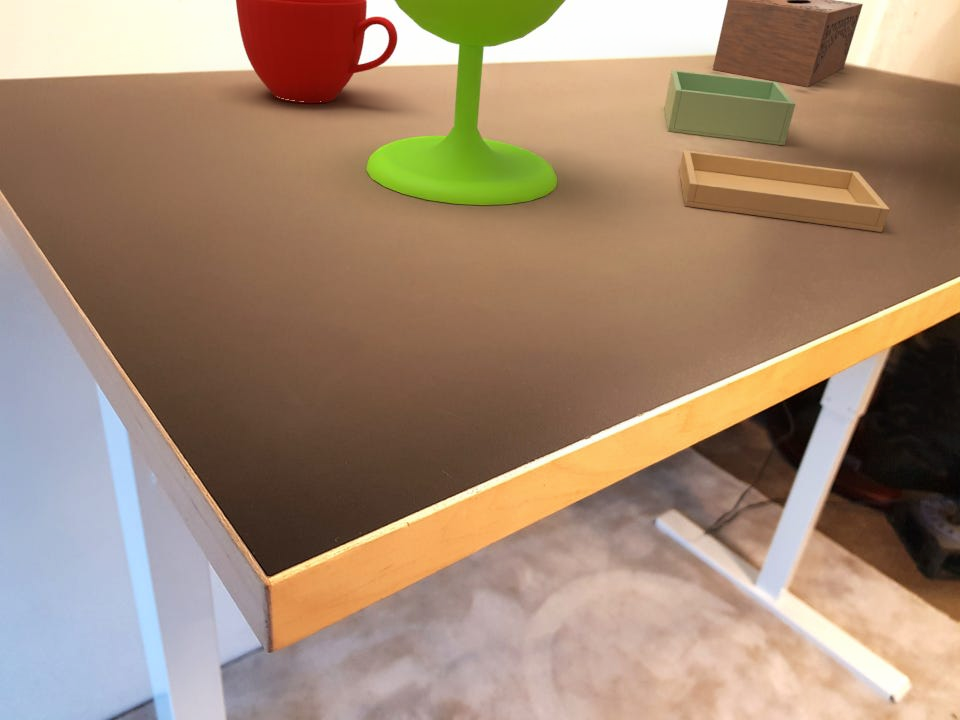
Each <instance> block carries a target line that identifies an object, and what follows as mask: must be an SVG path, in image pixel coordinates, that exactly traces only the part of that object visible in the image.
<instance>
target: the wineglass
mask: <svg viewBox="0 0 960 720" xmlns="http://www.w3.org/2000/svg"><path fill="white" fill-rule="evenodd" d="M566 1H567V0H394V2H395V4H396V6H397V7H398V8H399V9H400V10H401V11H402V12H403V13H404V14H405V15H406V16H408V17H409V19H411V20H412V22H414V23H415V24H416V25H417V26H418V27H420V28H421V29H422V30H424V31H426V32H428V33H430V34H432V35H434V36H436V37H437V38H440V39H441V40H444V41H446V42H447V43H449V44H450V43H451V44H455V45H458V60H457V75H456V89H455V105H454V107H455V108H454V118H453V120H454V121H453V126H452V128H451V130H450V131H449V133H448V134H447V135H425V136H424V135H423V136H421V135H420V136H412V137H407V138H402V139H397V140H394V141H391V142H389V143H386V144H383V145H381V146H379V148H378V149H376V150H375V151H374V152H373V153H371V155H370V156H369V157H368V159H367V163H366V167H365V171H366V173H367V174H368V175H369V177H370V178H371V179H372V180H373V181H375V182H376V183H378V184H380V185H381V186H383V188H386V189H389V190H392V191H394V192H398V193H400V194H402V195H407V196H411V197H414V198H417V199H422V200H426V201H431V202H440V203H446V204H453V205H470V206H471V205H473V206H497V205H499V206H500V205H511V204H519V203H524V202H530V201H533V200H537V199H540V198H543V197H546V196H548V195H549V194H550V193H552V192H553V191H554V190H555V189H556V187H557V185H558V177H557V174H556V173H555V171H554V169H553V166H552V165H551V163H549V162H548V161H547V160H546V159H545V158H543V157H542V156H540V155H538V154H536V153H534V152H532V151H530V150H528V149H526V148H525V147H520V146H517V145H514V144H510V143H508V142H504V141H503V142H502V141H498V140H493V139H488V138H483V137H482V135H481V133H480V131H479V128H478V125H479V123H478V122H479V110H480V101H481V100H480V99H481V85H482V73H483V63H484V50H485V49H484V48H485V47H487V48H490V47H496V46H500V45H504V44H507V43H509V42H513V41H516V40H518V39H519V40H520V39H522V38H524V37H526V36H527V35H529V34H530V33H532V32H533V31H535V30H536V29H538V28H539V27H541V26H543V25H544V24H546V23H547V22H548V21H549V20H550V19H551V18H552V16H554V14H555V13H556V12H557V11H558V10H559V9H560V8H561V7H562V5H563V4H564V3H565V2H566Z"/></svg>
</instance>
